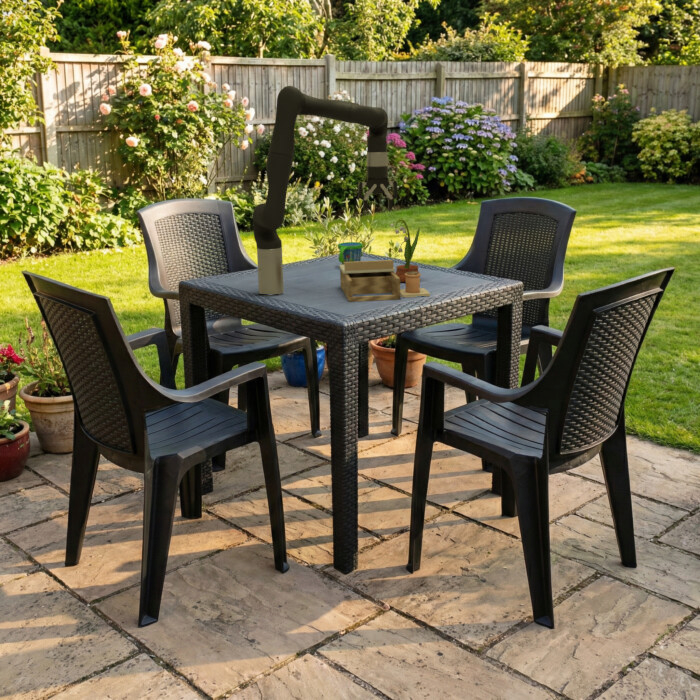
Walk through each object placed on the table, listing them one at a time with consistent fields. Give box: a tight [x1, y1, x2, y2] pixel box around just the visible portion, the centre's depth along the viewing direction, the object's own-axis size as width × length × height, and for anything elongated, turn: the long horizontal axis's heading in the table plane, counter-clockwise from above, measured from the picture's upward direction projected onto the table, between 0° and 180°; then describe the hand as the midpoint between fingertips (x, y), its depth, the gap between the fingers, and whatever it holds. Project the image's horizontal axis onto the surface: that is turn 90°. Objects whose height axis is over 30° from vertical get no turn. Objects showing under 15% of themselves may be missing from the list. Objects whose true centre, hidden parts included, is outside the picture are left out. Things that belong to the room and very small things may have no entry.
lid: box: [338, 259, 396, 274], centre depth 328 cm, size 19×13×4 cm
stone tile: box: [400, 287, 431, 298], centre depth 321 cm, size 10×10×1 cm
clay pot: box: [405, 272, 422, 293], centre depth 319 cm, size 6×6×7 cm
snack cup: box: [337, 241, 364, 265], centre depth 377 cm, size 16×10×10 cm
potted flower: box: [390, 217, 421, 283], centre depth 342 cm, size 12×10×25 cm
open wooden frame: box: [339, 268, 401, 303], centre depth 324 cm, size 18×28×8 cm, turn 7°
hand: (377, 210), depth 320 cm, fingers open, 8 cm apart
